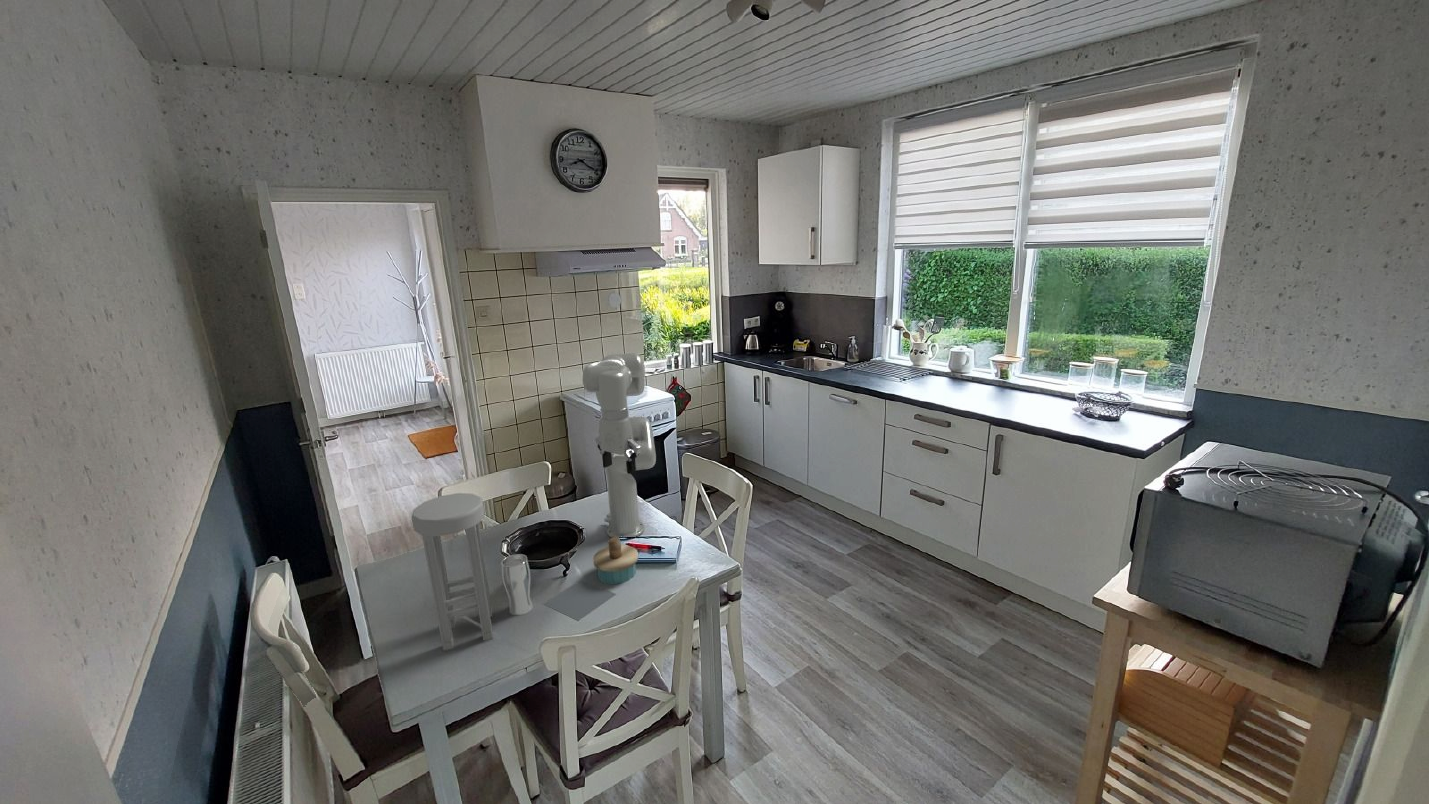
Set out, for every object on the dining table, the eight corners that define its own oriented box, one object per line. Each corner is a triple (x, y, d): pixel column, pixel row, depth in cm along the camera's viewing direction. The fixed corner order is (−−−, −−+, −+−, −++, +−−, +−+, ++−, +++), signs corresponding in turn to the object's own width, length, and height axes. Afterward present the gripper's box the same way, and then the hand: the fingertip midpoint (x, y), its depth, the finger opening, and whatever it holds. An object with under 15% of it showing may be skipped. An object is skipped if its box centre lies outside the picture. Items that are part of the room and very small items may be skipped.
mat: (543, 605, 158) (543, 603, 158) (581, 581, 169) (581, 579, 169) (578, 622, 150) (578, 620, 150) (616, 596, 161) (616, 594, 161)
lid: (584, 563, 169) (582, 544, 168) (615, 544, 179) (613, 526, 178) (616, 576, 162) (614, 556, 160) (647, 555, 172) (645, 536, 170)
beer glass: (527, 599, 161) (520, 550, 158) (539, 609, 157) (532, 559, 153) (503, 610, 157) (495, 560, 153) (515, 621, 152) (507, 570, 148)
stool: (501, 641, 144) (481, 512, 135) (433, 658, 139) (407, 525, 130) (500, 607, 158) (482, 488, 149) (438, 621, 153) (415, 499, 144)
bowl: (590, 578, 171) (589, 563, 169) (617, 561, 179) (615, 546, 178) (617, 589, 164) (616, 573, 163) (643, 571, 173) (642, 556, 172)
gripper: (584, 413, 169) (589, 468, 174) (627, 421, 159) (632, 479, 164) (602, 406, 175) (607, 460, 179) (645, 414, 165) (650, 470, 170)
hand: (619, 469), depth 172 cm, fingers open, 9 cm apart
